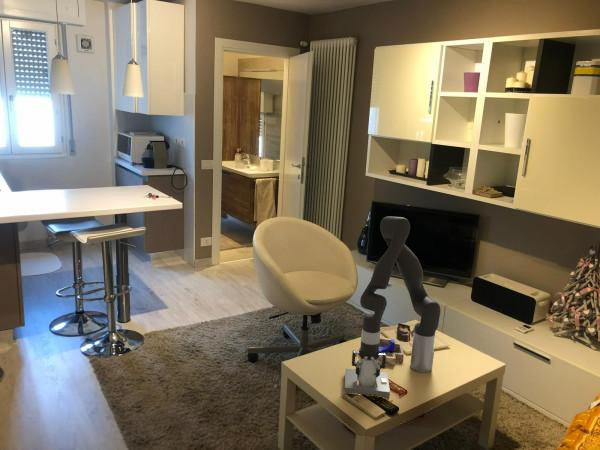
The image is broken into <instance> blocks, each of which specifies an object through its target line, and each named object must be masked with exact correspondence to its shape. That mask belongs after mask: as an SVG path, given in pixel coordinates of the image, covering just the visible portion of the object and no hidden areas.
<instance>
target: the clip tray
mask: <svg viewBox="0 0 600 450" xmlns="http://www.w3.org/2000/svg"><path fill="white" fill-rule="evenodd" d="M391 339H392V338H386V337H385V338H383V337H380V342H379V346H380V347H385V346H387V345H388V344H389V343H390V342H391ZM395 351H396V352H395ZM397 351H398V352H397ZM391 355H392V356H386V362H385V366H386V365H388V366H396V362H404V355H405V354H404V349H403V344H402V343H400V342H395V346H394V353H393V354H392V353H391ZM377 360H378V362H379V364H382V359H381V357H379V358H378V359H377Z"/></svg>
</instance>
